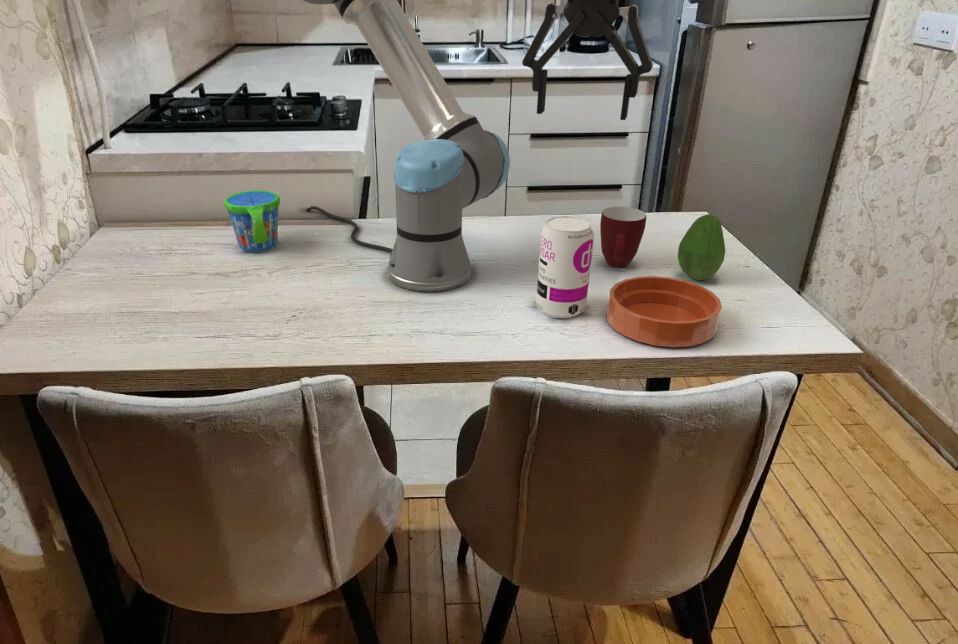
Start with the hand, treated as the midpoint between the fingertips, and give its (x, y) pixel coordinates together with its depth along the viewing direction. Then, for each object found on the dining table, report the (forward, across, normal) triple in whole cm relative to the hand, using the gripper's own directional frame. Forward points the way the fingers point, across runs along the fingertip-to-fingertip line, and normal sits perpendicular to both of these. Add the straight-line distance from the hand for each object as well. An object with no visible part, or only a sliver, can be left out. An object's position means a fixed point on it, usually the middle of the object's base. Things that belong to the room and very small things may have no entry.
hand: (581, 115), depth 119 cm
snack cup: (+29, -61, -6) cm, 68 cm away
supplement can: (+29, +2, -14) cm, 32 cm away
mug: (+29, +8, +8) cm, 31 cm away
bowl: (+29, +18, -13) cm, 36 cm away
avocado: (+29, +23, +7) cm, 37 cm away
